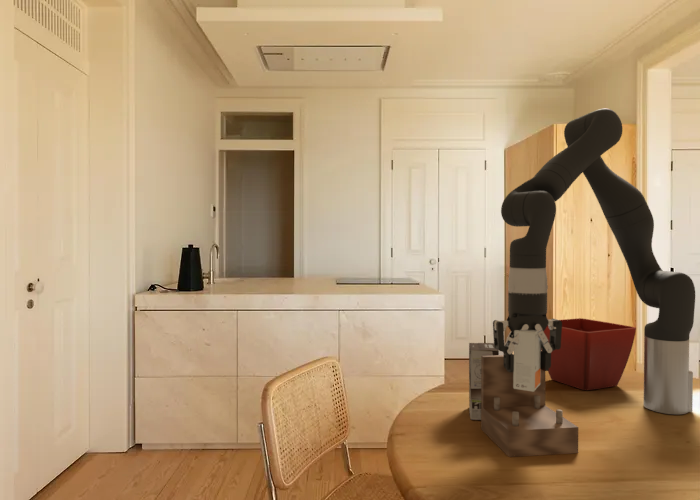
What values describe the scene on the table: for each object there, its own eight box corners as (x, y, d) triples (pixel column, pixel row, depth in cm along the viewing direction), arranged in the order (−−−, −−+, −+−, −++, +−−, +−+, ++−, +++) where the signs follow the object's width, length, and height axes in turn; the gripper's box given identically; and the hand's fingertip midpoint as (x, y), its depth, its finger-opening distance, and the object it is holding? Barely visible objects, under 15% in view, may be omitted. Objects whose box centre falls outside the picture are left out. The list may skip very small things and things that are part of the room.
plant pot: (580, 371, 157) (581, 317, 157) (637, 387, 140) (638, 327, 139) (533, 378, 149) (533, 321, 149) (587, 396, 132) (587, 332, 132)
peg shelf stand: (542, 426, 112) (542, 353, 111) (578, 452, 98) (578, 370, 97) (481, 429, 110) (481, 355, 110) (508, 456, 96) (509, 372, 96)
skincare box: (534, 392, 100) (535, 332, 100) (512, 389, 102) (513, 330, 102) (541, 384, 105) (541, 327, 105) (520, 381, 107) (520, 325, 107)
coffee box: (499, 422, 114) (499, 350, 114) (469, 420, 116) (469, 349, 115) (495, 408, 123) (496, 342, 123) (468, 406, 124) (468, 341, 124)
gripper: (551, 287, 108) (551, 365, 108) (486, 288, 106) (486, 367, 107) (570, 291, 100) (570, 374, 101) (501, 292, 99) (500, 377, 99)
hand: (527, 370), depth 104 cm, fingers closed on skincare box, 7 cm apart
